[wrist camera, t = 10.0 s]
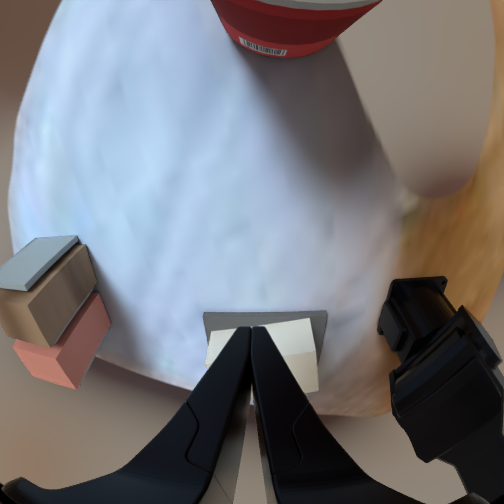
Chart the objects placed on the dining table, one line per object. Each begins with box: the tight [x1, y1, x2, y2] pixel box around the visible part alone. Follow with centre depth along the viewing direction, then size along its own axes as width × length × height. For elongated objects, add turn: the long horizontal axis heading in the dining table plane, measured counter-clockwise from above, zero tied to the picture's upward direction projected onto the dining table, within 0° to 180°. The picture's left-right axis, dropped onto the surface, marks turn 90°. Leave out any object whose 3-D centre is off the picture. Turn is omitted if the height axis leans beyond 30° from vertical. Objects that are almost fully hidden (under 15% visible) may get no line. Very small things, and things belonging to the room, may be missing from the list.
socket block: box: [0, 235, 110, 385], centre depth 21 cm, size 6×11×8 cm, turn 2°
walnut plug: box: [0, 244, 97, 348], centre depth 19 cm, size 6×4×9 cm, turn 92°
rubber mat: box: [203, 310, 327, 366], centre depth 27 cm, size 11×8×1 cm
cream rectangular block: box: [205, 318, 319, 400], centre depth 24 cm, size 9×6×4 cm, turn 102°
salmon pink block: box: [13, 292, 111, 389], centre depth 22 cm, size 6×4×9 cm, turn 92°
